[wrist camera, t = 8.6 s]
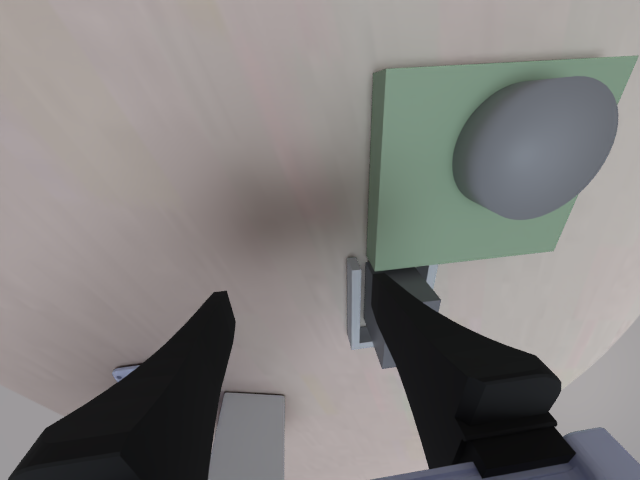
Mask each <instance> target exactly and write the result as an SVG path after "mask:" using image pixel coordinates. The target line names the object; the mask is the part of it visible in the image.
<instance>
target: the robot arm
mask: <svg viewBox="0 0 640 480" xmlns="http://www.w3.org/2000/svg"><path fill="white" fill-rule="evenodd" d="M371 307H372V310H373V313H374V317H375V320H376V323H377V325H378V327H379V330H380V332H381V334H382V336H383V338H384V341H385V343H386V345H387V347H388V349H389V351H390V354H391V356H392V358H393V360H394V362H395V365H396V367H397V369H398V372H399V375H400V377H401V380H402V383H403V386H404V389H405V392H406V395H407V398H408V401H409V404H410V407H411V410H412V413H413V416H414V420H415V423H416V426H417V429H418V432H419V436H420V439H421V442H422V446H423V449H424V453H425V456H426V460H427V463H428V467H429V469H428V470H422V471H417V472H411V473H406V474H400V475H394V476H389V477H383V478H377V479H372V480H640V464H639V463H638V462H637V461H636V460H635V459H634V458H633V457H632V456H631V455H630V454H629V453H628V452H627V451H626V450H625V449H624V448H623V447H622V446H621V445H620V444H619V443H618V442H617V441H616V440H615V439H614V438H613V437H612V436H611V435H610V434H609V433H608V432H607V431H606V429H604V428H601V427H599V428H593V429H587V430H581V431H575V432H572V433H569V434H567V435H565V436H564V437H562V436H561V434H560V433H559V432H558V431H557V430H556V429H555V426H557V421H556V420H555V419H554V418H553V417H552V415H551V414H550V413H549V412H548V411H549V410H550V408H551V407H552V405H553V404H554V402H555V401H556V399H557V397H558V396H559V394H560V392H561V381H560V380H559V378H558V377H557V376H556V375H555V374H554V373H553V372H552V371H551V370H550V369H549V368H548V367H547V366H546V365H545V364H544V363H543V362H542V361H541V360H540V359H539V358H538V357H537V356H535V355H532V354H530V353H527V352H524V351H521V350H518V349H515V348H512V347H509V346H507V345H504V344H501V343H499V342H497V341H494V340H492V339H489V338H487V337H485V336H482V335H480V334H478V333H476V332H473V331H471V330H469V329H467V328H465V327H463V326H461V325H459V324H457V323H455V322H454V321H452V320H450V319H448V318H447V317H445V316H443V315H441V314H440V313H438V312H436V311H435V310H433V309H432V308H430V307H429V306H427V305H426V304H424V303H423V302H421V301H420V300H419V299H417V298H416V297H414V296H413V295H412V294H410V293H409V292H408V291H407V290H405V289H404V288H403V287H401V286H400V285H399V284H398V283H397V282H395V281H394V280H393V279H392V278H390V277H389V276H388V275H387V274H385V273H377V274H373V276H372V295H371ZM235 323H236V322H235V318H234V315H233V311H232V308H231V304H230V301H229V297H228V294H227V291H221V292H214V293H213V294H212V295H211V296H210V297H209V298H208V299H207V300H206V302H205V303H204V304H203V305H202V306H201V307H200V308H199V309H198V311H197V312H196V313H195V314H194V315H193V316H192V317H191V318H190V319H189V320H188V322H187V323H186V324H185V325H184V326H183V327H182V328H181V329H180V330H179V331H178V332H177V333H176V334H175V335H174V336H173V337H172V338H171V339H170V340H169V341H168V342H167V343H166V344H165V345H163V346H162V347H161V348H160V349H159V350H158V351H157V352H156V353H154V354H153V355H152V356H151V357H150V358H149V359H147V360H146V361H145V362H144V363H142V364H141V365H137V366H130V367H122V368H116V369H114V371H113V372H112V375H113V376H114V378H115V379H116V381H117V382H118V383H116V384H115V385H113V386H112V387H110V388H109V389H108V390H106V391H105V392H103V393H102V394H100V395H99V396H97V397H96V398H94V399H93V400H91V401H90V402H88V403H86V404H85V405H83V406H82V407H80V408H78V409H77V410H75V411H74V412H72V413H70V414H69V415H67V416H65V417H64V418H62V419H60V420H59V421H57V422H56V423H54V424H52V425H50V426H49V427H47V428H46V429H45V430H44V431H43V432H42V434H41V435H40V436H39V438H38V439H37V440H36V442H35V443H34V444H33V446H32V447H31V449H30V450H29V451H28V453H27V454H26V455H25V456H24V458H23V459H22V460H21V462H20V463H19V465H18V466H17V467H16V469H15V470H14V471H13V473H12V474H11V475H10V477H9V479H8V480H208V474H209V466H210V458H211V449H212V442H213V435H214V427H215V420H216V414H217V408H218V402H219V396H220V392H221V387H222V383H223V379H224V376H225V372H226V368H227V364H228V360H229V356H230V353H231V349H232V345H233V339H234V332H235Z"/></svg>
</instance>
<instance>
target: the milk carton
mask: <svg viewBox="0 0 640 480" xmlns="http://www.w3.org/2000/svg"><path fill="white" fill-rule="evenodd" d="M284 421H285V397H284V396H280V395H263V394H245V393H225V394H224V397H223V402H222V407H221V411H220V416H219V420H218V425H217V430H216V434H215V439H214V444H213V448H212V453H211V458H210V466H209V474H208V480H284Z"/></svg>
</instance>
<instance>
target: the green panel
mask: <svg viewBox="0 0 640 480" xmlns="http://www.w3.org/2000/svg"><path fill="white" fill-rule="evenodd" d="M637 59H638V56H621V57H602V58H583V59H564V60H545V61H526V62H507V63H488V64H469V65H450V66H431V67H412V68H393V69H384V70H382V71H379V72H376V73H373V91H372V118H371V146H370V173H369V200H368V228H367V255H366V256H367V258H368V260H369V262H370V263H371V265H372V267H373V269H374V271H383V270H392V269H401V268H410V267H417V270H418V272H419V273H420V274H421V275H422V277H423V278H424V279H425V281H426V282H427V283H428V284H429V286H430V287H431V288H432V289H433V288H434V283H435V278H436V272H437V267H438V264H445V263H453V262H462V261H471V260H480V259H488V258H497V257H506V256H515V255H523V254H532V253H541V252H550V251H554V249H555V247H556V244H557V242H558V240H559V237H560V235H561V233H562V230H563V228H564V226H565V224H566V221H567V219H568V217H569V214H570V212H571V210H572V208H573V205H574V203H575V201H576V198H577V196H578V194H579V193H580V192H581V191H582V190H583V189H584V188H585V187H586V186H587V185H588V184H589V183H590V181H591V180H592V179H593V178H594V177H595V175H596V174H597V173H598V171H599V170H600V168H601V167H602V165H603V164H604V162H605V160H606V158H607V156H608V154H609V152H610V150H611V148H612V145H613V143H614V139H615V136H616V132H617V126H618V107H617V104H618V102H619V100H620V98H621V95H622V93H623V91H624V88H625V86H626V84H627V82H628V79H629V77H630V75H631V72H632V70H633V68H634V66H635V63H636V61H637ZM360 302H361V268H360V265H359V263H358V261H357V259H356V257H351V258H347V335H348V338H349V342H350V346H351V350H354V349H361V348H369V347H374V345H373V342H372V340H371V337H370V334H369V331H368V329H367V327H360Z"/></svg>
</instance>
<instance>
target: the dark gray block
mask: <svg viewBox="0 0 640 480" xmlns="http://www.w3.org/2000/svg"><path fill="white" fill-rule="evenodd" d="M377 273H385V274H387V275H388V276H389V277H390V278H392V279H393V280H394V281H395V282H397V283H398V284H399V285H400V286H401V287H403V288H404V289H405V290H407V291H408V292H409V293H410V294H412V295H413V296H414V297H416V298H417V299H419V300H420V301H421V302H423V303H424V304H426V305H427V306H429V307H430V308H432V309H433V310H435V311H436V312H438V311H439V306H440V302H441V299H440V298H439V297H438V296H437V294H436V293H435V292H434V291H433V289H432V288H431V287H430V286H429V284H428V283H427V282H426V281H425V279H424V278H423V277H422V275H421V274H420V273H419V272H418V270H417V269H416V268H415V267H410V268H401V269H392V270H383V271H374V269H373V267H372V265H371V263H370V262H366V266H365V295H364V320H365V323H366V326H367V329H368V331H369V334H370V337H371V340H372V342H373V345H374V348H375V351H376V353H377V356H378V359H379V362H380V364H381V367H382V369H385V368H392V367H396V365H395V362H394V360H393V358H392V356H391V354H390V351H389V349H388V347H387V345H386V343H385V341H384V338H383V336H382V334H381V332H380V330H379V327H378V325H377V323H376V320H375V317H374V313H373V310H372V307H371V295H372V276H373V274H377Z"/></svg>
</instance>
